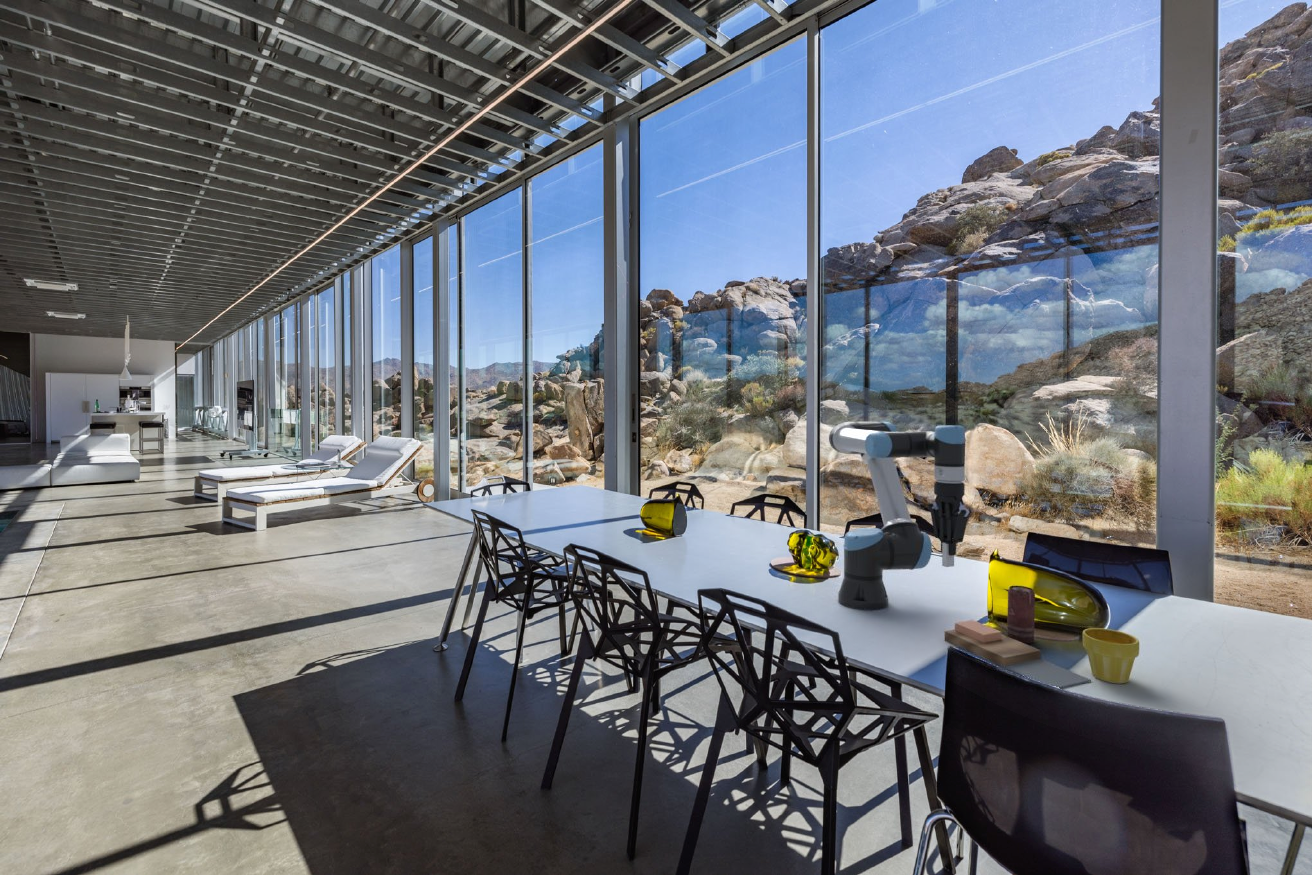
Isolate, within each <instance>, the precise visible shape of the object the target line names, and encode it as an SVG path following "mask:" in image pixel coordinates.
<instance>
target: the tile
mask: <svg viewBox="0 0 1312 875" xmlns="http://www.w3.org/2000/svg"><path fill="white" fill-rule="evenodd" d="M954 629H955V630H956V631H958V632H960V633H962V634H965V635H967V636H969V637H972V638H974V639H976V640H979V641H981V642H983V643H984V642H990V641H995V640H1001V634H1002V631H1001V630H998V629H996V628H993V627H991V626H988V625H985V624H983V623H980V622H978V621H975V620H974V619H973V620H972V619H970V620H964V621H958V622H955V623H954Z"/></svg>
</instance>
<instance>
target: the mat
mask: <svg viewBox="0 0 1312 875" xmlns="http://www.w3.org/2000/svg"><path fill="white" fill-rule="evenodd" d="M1004 669H1006V670H1008V671H1010V672H1011V673H1014V672H1015V674H1017V675H1019V676H1021V675H1024V676H1025V677H1029V678H1031V679H1034V680H1036V681H1040V682H1041V683H1045V684H1050V685H1051V686H1056V687H1059V688H1061V689H1064V688H1069V687H1073V686H1078V685H1082V684H1086V683H1090V682H1092V679H1091V678H1088V677H1085V676H1083V675H1080V674H1079V673H1077V672H1074V671H1071V670H1069V669H1066V668H1064V667H1061V666H1059V665H1057V664H1055V663H1052V662H1049V661H1047V660H1044V659H1042V658H1041V659H1037V660H1032V661H1027V662H1023V663H1018V664H1013V665H1008V666H1004ZM1025 677H1024V678H1025Z"/></svg>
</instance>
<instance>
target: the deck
mask: <svg viewBox="0 0 1312 875" xmlns="http://www.w3.org/2000/svg"><path fill="white" fill-rule="evenodd" d="M944 641H945V642H948V643H949V644H952V645H953V646H956V647H959V648H960V649H963V650H965V651H967V652H969V653H972V654H973V655H976V656H977V657H980V658H982V659H985V660H986V661H988V662H991V663H993V664H995V665H996V666H1000V667H1002V668H1004V666H1008V665H1013V664H1018V663H1023V662H1027V661H1032V660H1037V659H1042V649H1038V648H1036V647H1034V646H1031V645H1029V644H1024V643H1022V642H1019V641H1017V640H1014V639H1012V638H1009V637H1008V636H1007V635H1005V634H1003V633H1001V640H995V641H990V642H984V643H983V642H981V641H979V640H976V639H974V638H972V637H969V636H967V635H965V634H962V633H960V632H958V631H956V630H955V628H954V629H950V630H944ZM1004 669H1005V668H1004Z"/></svg>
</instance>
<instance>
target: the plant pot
mask: <svg viewBox="0 0 1312 875" xmlns="http://www.w3.org/2000/svg"><path fill="white" fill-rule="evenodd" d="M1082 646H1083V648H1084V649H1085V650H1086V653H1087V657H1088V662H1089V667H1090V670H1091V674H1092V675H1093V676H1094V677H1095V678H1096V679H1098V680H1100V681H1103V682H1106V683H1111V684H1119V685H1122V684H1123V685H1124V684H1126V683H1128V682H1130V681H1129V680H1130V677H1131V674H1132V670H1133V666H1134V662H1135V659H1136V658H1137V657H1138V656H1139V655H1140V641H1139V639H1138V638H1137V637H1136V636H1134V635H1132V634H1129V633H1128V632H1127V633H1126V632H1123V631H1120V630H1116V629H1109V628H1101V627H1100V628H1099V627H1092V628H1085V629H1084V630H1083V631H1082Z"/></svg>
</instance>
